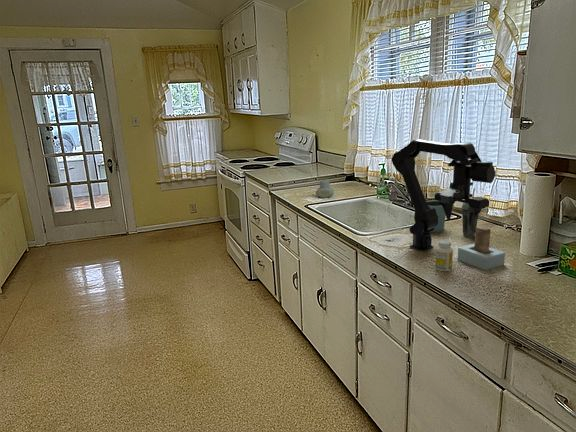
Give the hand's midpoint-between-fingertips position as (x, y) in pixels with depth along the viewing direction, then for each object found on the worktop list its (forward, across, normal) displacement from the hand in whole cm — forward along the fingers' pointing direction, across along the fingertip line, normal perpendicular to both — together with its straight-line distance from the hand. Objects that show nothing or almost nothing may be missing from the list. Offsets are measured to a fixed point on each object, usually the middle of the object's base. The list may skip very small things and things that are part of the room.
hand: (459, 222), depth 152 cm
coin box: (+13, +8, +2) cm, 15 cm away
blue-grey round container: (+13, -28, +20) cm, 37 cm away
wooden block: (+12, +8, +2) cm, 15 cm away
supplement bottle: (+13, +4, -12) cm, 19 cm away
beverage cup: (+13, -13, +24) cm, 30 cm away
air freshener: (+13, -114, +23) cm, 117 cm away
